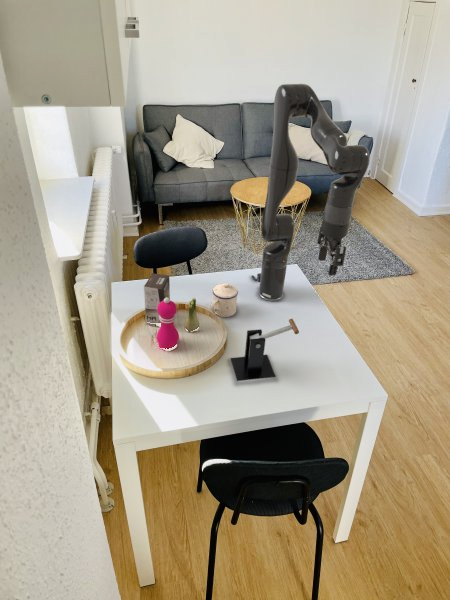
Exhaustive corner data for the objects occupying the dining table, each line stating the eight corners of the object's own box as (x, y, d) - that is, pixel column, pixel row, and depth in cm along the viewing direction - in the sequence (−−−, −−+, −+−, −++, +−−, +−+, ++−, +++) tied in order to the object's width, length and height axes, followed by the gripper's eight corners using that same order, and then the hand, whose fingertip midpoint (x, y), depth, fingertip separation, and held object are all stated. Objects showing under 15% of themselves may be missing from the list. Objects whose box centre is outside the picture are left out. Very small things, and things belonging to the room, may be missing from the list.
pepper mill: (182, 344, 151) (182, 294, 139) (173, 357, 145) (172, 307, 134) (163, 338, 153) (161, 289, 141) (153, 351, 147) (150, 301, 135)
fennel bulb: (192, 323, 160) (193, 295, 153) (203, 329, 158) (203, 301, 151) (181, 331, 156) (181, 302, 149) (191, 337, 154) (192, 308, 147)
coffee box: (163, 328, 157) (161, 289, 148) (145, 325, 158) (142, 286, 149) (171, 312, 165) (170, 274, 155) (154, 309, 165) (152, 272, 156)
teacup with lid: (222, 300, 172) (223, 274, 166) (241, 310, 168) (243, 283, 161) (201, 314, 165) (202, 287, 158) (220, 325, 160) (222, 298, 153)
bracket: (266, 357, 147) (271, 323, 139) (275, 379, 139) (280, 344, 131) (230, 361, 145) (232, 326, 137) (236, 383, 137) (240, 348, 129)
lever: (293, 322, 138) (292, 316, 136) (299, 334, 133) (298, 328, 132) (250, 337, 138) (248, 332, 137) (254, 350, 134) (252, 344, 132)
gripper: (315, 207, 133) (307, 256, 142) (333, 229, 121) (323, 280, 131) (339, 207, 134) (329, 255, 143) (360, 228, 123) (347, 279, 132)
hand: (326, 267), depth 137 cm, fingers open, 8 cm apart
